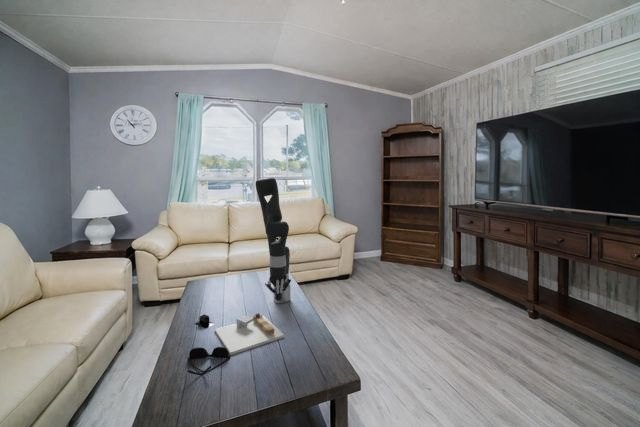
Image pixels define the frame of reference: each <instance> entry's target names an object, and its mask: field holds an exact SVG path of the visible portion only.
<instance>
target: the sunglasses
mask: <svg viewBox="0 0 640 427" xmlns="http://www.w3.org/2000/svg"><path fill="white" fill-rule="evenodd" d="M206 358H215V359H225V360H223V361H222V362H220V363H218V364H217V365H215V366H214V367H212V365H209V366H208V367H207V368H206V369H205V370H201V369H200V367H199V368H198V367H197V366H196V365H195V364H194V363H193V362H192V361H191V360H198V359H200V360H201V359H206ZM230 359H231V355H230V354H229V352H228V349H227V348H225V346H216V347H214V348H213V350H212V351H211V354H209V353H208V351H207V349H206V348H205V347H193V348H191V349H190V351H189V353H188V357H187V361H188V363H189V364H190V365H191V366H193V368H195V369H196V370H197V371H199V372H200V373H199V372H196V371H193V370H190V369H188V371H187V373H189V374H192V375H196V376H202V375H204V374H207V373H208V372H210V371H212V370H215V369H216V368H218V367H220V366H221V365H222V364H224V363H227V362H228V361H229V360H230Z"/></svg>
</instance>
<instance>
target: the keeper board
mask: <svg viewBox="0 0 640 427" xmlns="http://www.w3.org/2000/svg"><path fill="white" fill-rule="evenodd" d="M262 318H263V319H264V320H265V321H267V322H268V323H269V324H270V325H271V326H272V327H273V328H274V333H273V334H270V335H268V334H267V333H266V332H265V331H264V330H263V329H262V328H261V327H260V326H259V325H258V324H257V323H256V322H254V321H253V317H251V316H248V315H245V314H243V315H242V316H239V317H238V318H236V322H235V323H232V324H229V325H225V326H221V327H217V328H214V332H215V334H216V336H217V337H218V338H219V340H220V342H221V343H222V344H223V347H224V348H227V349H228V352H229V356H232V355H235V354H238V353H241V352H244V351H247V350H250V349H253V348H257V347H259V346H262V345H265V344H268V343H270V342H273V341H277V340H280V339H283V338H284V337H285V334H284V333H283V332H282V331H281V330H280V329H279V328H277V326H275V325H274V324H273V323H272V322H271V321H270V320H269V319H268V318H267V317H266V316H264V315H262Z"/></svg>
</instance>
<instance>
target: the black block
mask: <svg viewBox="0 0 640 427" xmlns="http://www.w3.org/2000/svg"><path fill="white" fill-rule="evenodd" d="M198 318H199V319H198V320H199V321H196V322H195V323H193V324H194V325H196V326H199V327H201V328H202V329H203V328H204V329H208V328H211V327H212V326H214V325H215V323H214V322H211V321H210V316H209V315H207V314H201V315H200V316H199V317H198Z"/></svg>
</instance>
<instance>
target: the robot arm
mask: <svg viewBox="0 0 640 427" xmlns="http://www.w3.org/2000/svg"><path fill="white" fill-rule="evenodd" d="M255 189H256V190H255V191H256V192H257V197H258V200H259V204H260V207H261V208H260V209H261V213H262V218H263V224H264V227H265V234H266V237H267V242H268V252H269V278H268V279H269V280H268V281H267V282H265V283H264V286H266V288H267V289H268V290H270V292H271V293H273V302H274V303H276V304H286V303H288V302H289V301H291V298H292V297H291V282H292V279H290V255H291V252H290V248H289V247H288V246H286V242H287V239H288V234H289V233H290V232H289V231H290V226H289V224H288V222H286V221H282V219H283V215H282V211H281V207H280V206H281V205H280V196H279V195H280V194H279V186H278V182H277V179H276V178H274V177H266V178H259V179H256V181H255ZM268 196H271V197H270V199H269V200H268V201H267V199H266V198H265V197H268ZM277 238H279V239H278V240H277ZM272 286H273V287H272ZM285 302H286V303H285Z"/></svg>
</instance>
